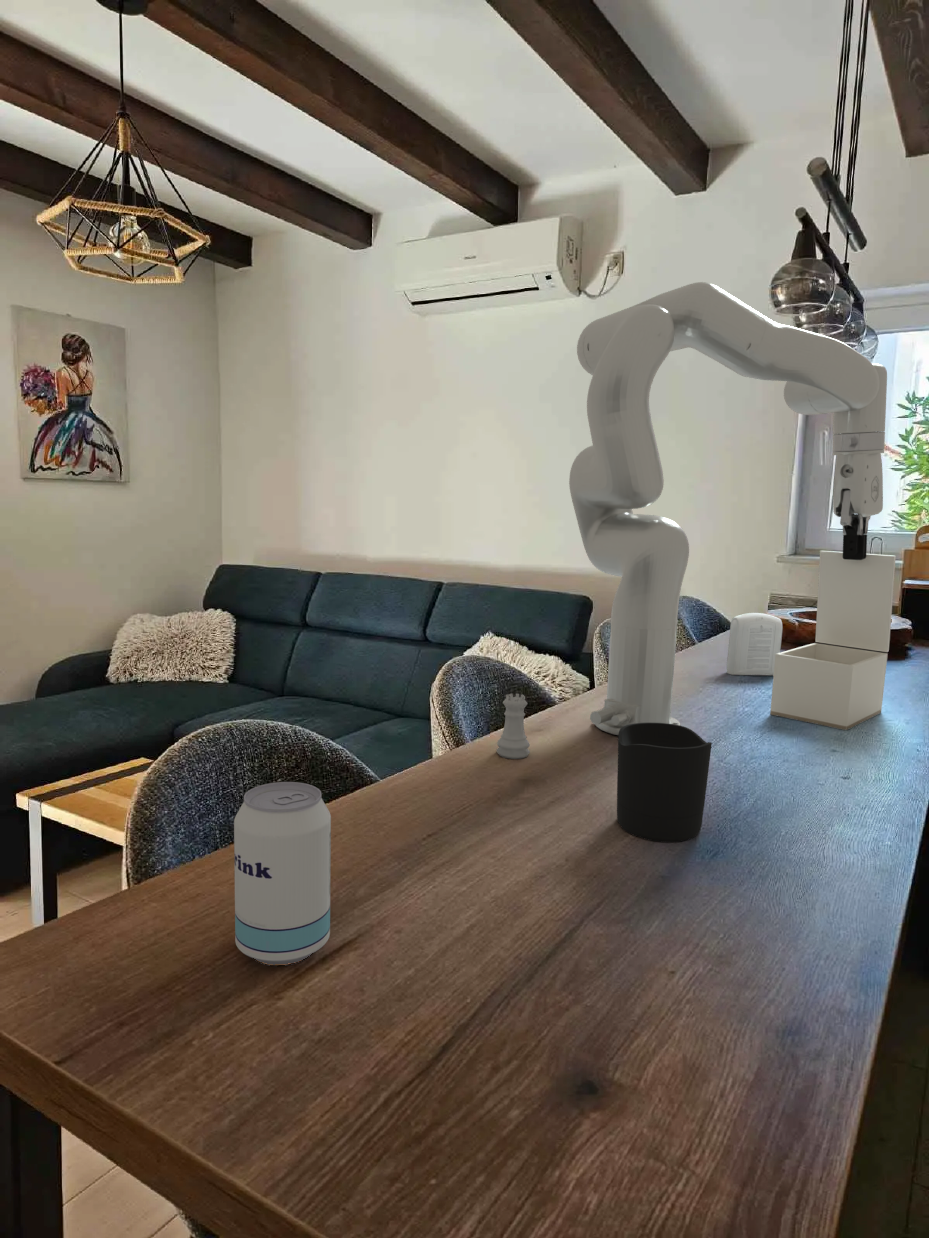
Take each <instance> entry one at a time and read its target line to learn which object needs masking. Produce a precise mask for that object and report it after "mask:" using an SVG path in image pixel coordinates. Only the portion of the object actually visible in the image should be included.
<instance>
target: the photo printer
mask: <svg viewBox="0 0 929 1238" xmlns="http://www.w3.org/2000/svg"><path fill="white" fill-rule="evenodd" d="M729 626H730V627H729V637H728V645H727V646H728V647H727V648H728V649H727V658H726V659H727V660H726V673H727V674H728V675H732V676H768V677H769V676H771V677H772V676H773V677H774V665H775V654H777V653H781V646H782V637H783V629H784V628H783V622H782V619H781V618H780V617H778V616H776V615H772V614H768V613H763V612H748V613H743V614H739V615H735V616H734V617H732V619H731V621H730V625H729Z"/></svg>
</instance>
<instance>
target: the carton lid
mask: <svg viewBox="0 0 929 1238" xmlns="http://www.w3.org/2000/svg"><path fill="white" fill-rule="evenodd" d="M896 559H897V557H896V555H890V554H879V553H878V554H876V553H866V558H865V559H862V560H847V559H843V551H833V550H819V562H818V563H819V565H818V583H817V584H818V585H817V604H816V619H815V621H816V622H815V623H816V625H815V642H814V643H818V644H825V645H832V646H839V647H846V648H853V649H860V650H867V651H874V652H881V653H888V652H889V650H890V641H891V625H892V624H891V623H892V611H893V597H894V583H895V570H896V569H895V568H896Z"/></svg>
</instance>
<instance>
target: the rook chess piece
mask: <svg viewBox="0 0 929 1238" xmlns="http://www.w3.org/2000/svg"><path fill="white" fill-rule="evenodd" d="M502 704H503V705H504V707H505V712H504V713H503V714H504V716H505V720H504V726H503V730H502V733H501V735H500V738H499V739H498V740H497V749H496V750H495V751H496V753H497V754H498V755H499V757H501V758H504V759H510V760H521V759H525V758H527V757H528V755H529V754H530V753H531V751H530V749H529V747H530V741H529V740H528V739H527V736H526V734H525V733H526V732H525V723H524V720H525V719H524V717H525V716H526V713H525V707H527V705H528V702H527V701H526V695H525V694H519V693H515V696H514V693H508V694H506V695H505V699H504V700H503V701H502Z"/></svg>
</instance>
